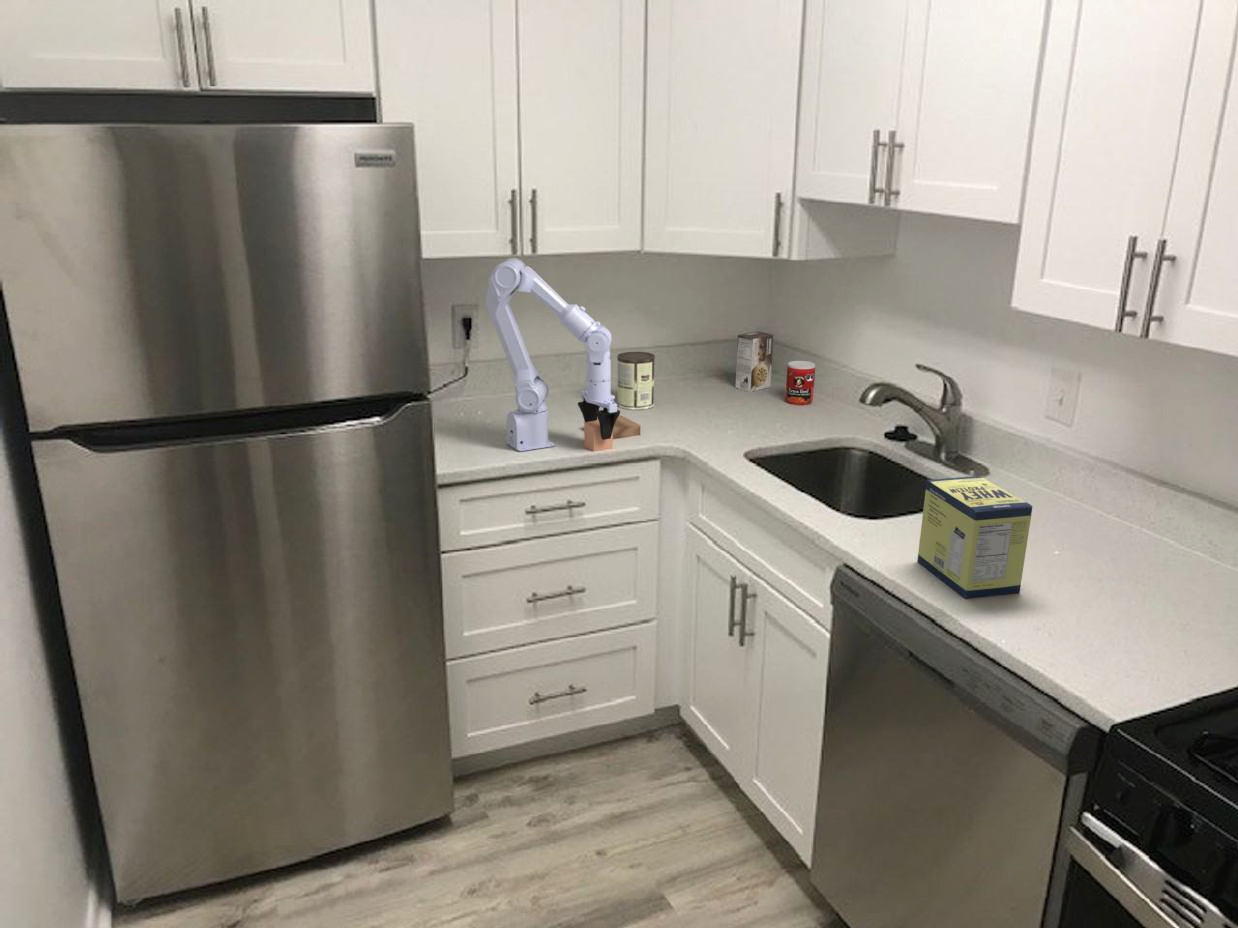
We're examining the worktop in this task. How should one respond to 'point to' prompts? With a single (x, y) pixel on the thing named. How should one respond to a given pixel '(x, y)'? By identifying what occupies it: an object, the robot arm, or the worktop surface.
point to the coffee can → (635, 380)
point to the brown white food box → (754, 361)
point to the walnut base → (625, 428)
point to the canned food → (800, 382)
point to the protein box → (974, 536)
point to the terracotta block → (595, 437)
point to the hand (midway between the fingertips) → (598, 434)
